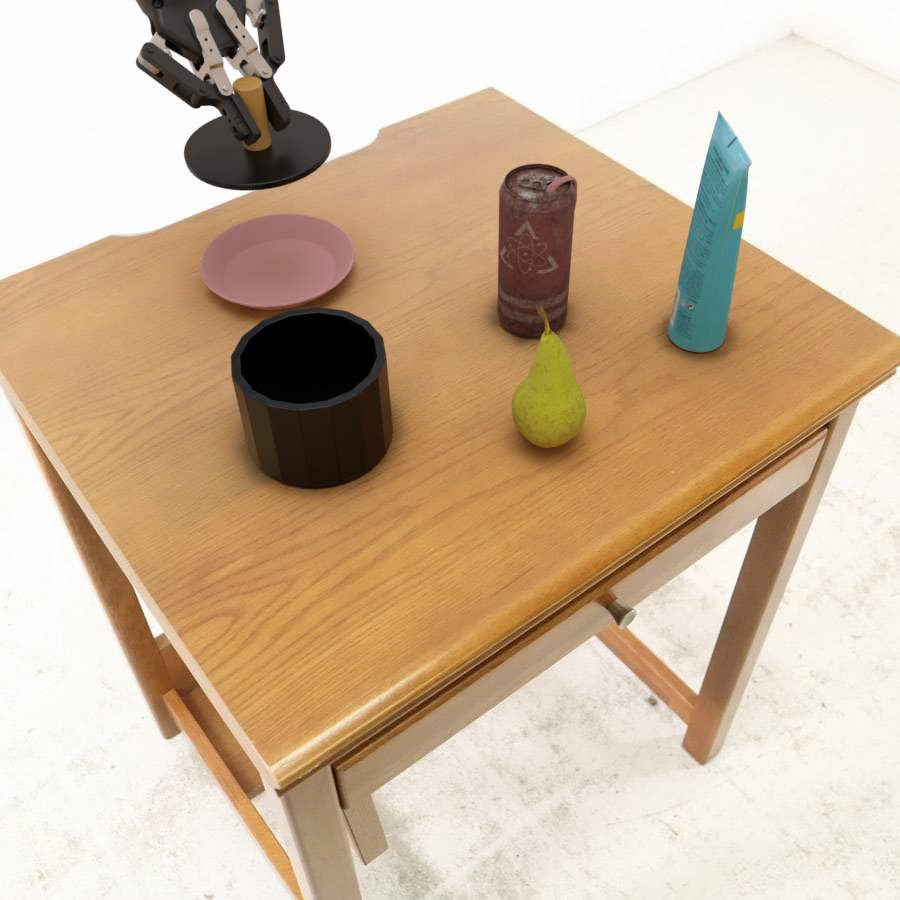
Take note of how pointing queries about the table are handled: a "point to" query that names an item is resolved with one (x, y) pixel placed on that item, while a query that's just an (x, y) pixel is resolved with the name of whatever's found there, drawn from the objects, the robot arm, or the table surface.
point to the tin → (313, 396)
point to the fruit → (549, 395)
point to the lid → (257, 147)
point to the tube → (712, 245)
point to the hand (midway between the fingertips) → (269, 133)
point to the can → (535, 247)
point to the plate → (277, 261)
